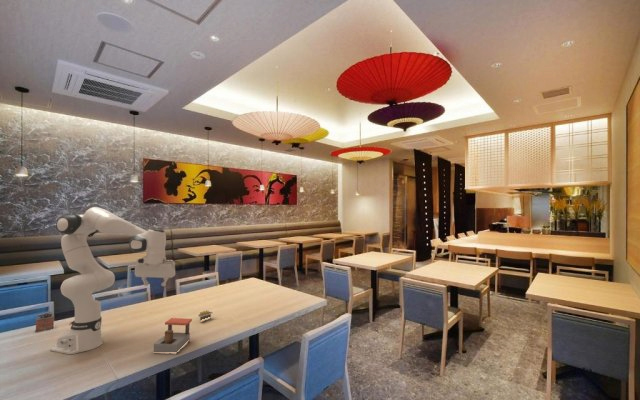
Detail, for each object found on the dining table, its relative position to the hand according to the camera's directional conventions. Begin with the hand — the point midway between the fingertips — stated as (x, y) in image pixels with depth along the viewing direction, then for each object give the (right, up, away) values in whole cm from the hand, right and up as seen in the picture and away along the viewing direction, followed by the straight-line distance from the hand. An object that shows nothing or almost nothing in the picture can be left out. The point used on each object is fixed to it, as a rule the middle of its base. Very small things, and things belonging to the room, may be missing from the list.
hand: (154, 285), depth 151 cm
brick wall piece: (-79, -33, +22) cm, 88 cm away
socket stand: (+7, -34, +4) cm, 35 cm away
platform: (+10, -37, +41) cm, 56 cm away
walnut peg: (+7, -34, 0) cm, 35 cm away
